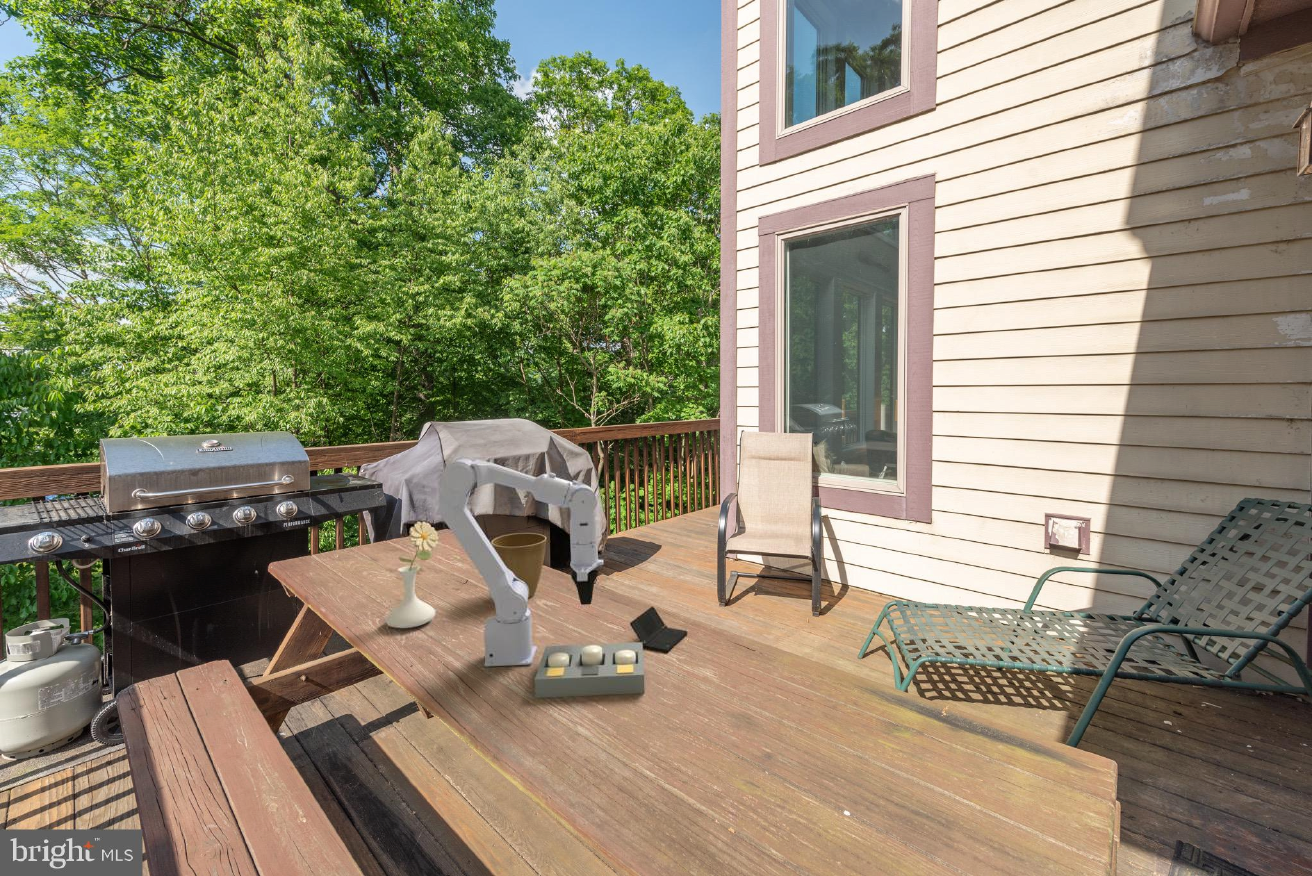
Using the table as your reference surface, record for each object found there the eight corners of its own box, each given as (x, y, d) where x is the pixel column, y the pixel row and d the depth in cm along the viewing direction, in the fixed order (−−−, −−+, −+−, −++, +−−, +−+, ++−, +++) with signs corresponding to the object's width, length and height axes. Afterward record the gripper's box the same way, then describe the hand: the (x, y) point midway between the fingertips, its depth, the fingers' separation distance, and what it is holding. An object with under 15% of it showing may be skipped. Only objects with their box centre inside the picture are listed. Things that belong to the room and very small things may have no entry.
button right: (615, 674, 110) (614, 659, 109) (615, 665, 113) (615, 650, 113) (635, 673, 110) (635, 658, 109) (635, 664, 114) (635, 649, 113)
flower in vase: (394, 637, 133) (388, 531, 131) (379, 623, 141) (374, 523, 139) (449, 621, 141) (445, 522, 139) (433, 609, 150) (428, 515, 148)
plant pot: (484, 595, 160) (482, 539, 159) (532, 583, 170) (530, 530, 169) (508, 609, 149) (506, 549, 148) (558, 595, 158) (556, 539, 157)
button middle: (581, 669, 109) (580, 654, 109) (582, 660, 113) (582, 645, 113) (602, 669, 109) (601, 653, 109) (602, 659, 113) (602, 644, 113)
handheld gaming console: (677, 647, 120) (650, 606, 123) (651, 665, 122) (625, 624, 124) (690, 633, 131) (666, 596, 134) (666, 650, 133) (642, 613, 135)
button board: (535, 698, 104) (534, 678, 104) (546, 662, 118) (545, 645, 118) (644, 693, 105) (644, 673, 105) (642, 658, 119) (642, 641, 119)
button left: (547, 677, 109) (546, 662, 109) (550, 667, 113) (549, 653, 113) (568, 676, 109) (567, 661, 109) (570, 667, 113) (569, 652, 113)
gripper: (600, 549, 115) (603, 615, 116) (604, 532, 129) (606, 591, 130) (565, 551, 114) (568, 616, 115) (572, 533, 129) (575, 592, 130)
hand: (586, 603), depth 123 cm, fingers closed
